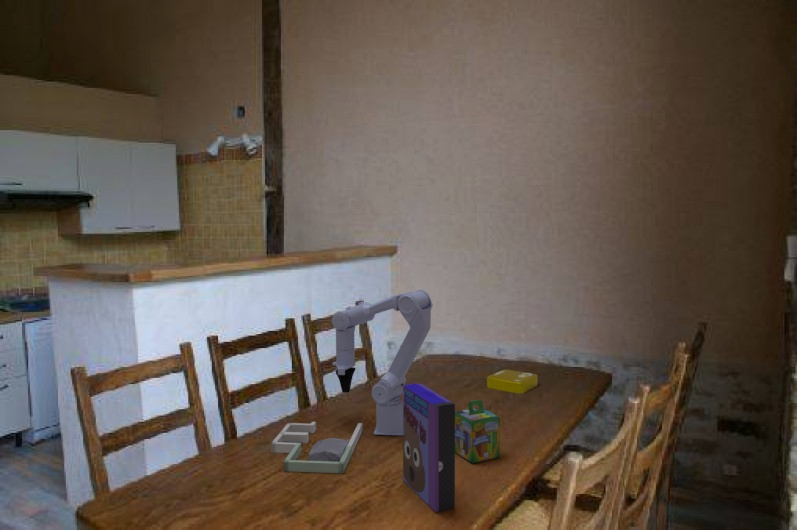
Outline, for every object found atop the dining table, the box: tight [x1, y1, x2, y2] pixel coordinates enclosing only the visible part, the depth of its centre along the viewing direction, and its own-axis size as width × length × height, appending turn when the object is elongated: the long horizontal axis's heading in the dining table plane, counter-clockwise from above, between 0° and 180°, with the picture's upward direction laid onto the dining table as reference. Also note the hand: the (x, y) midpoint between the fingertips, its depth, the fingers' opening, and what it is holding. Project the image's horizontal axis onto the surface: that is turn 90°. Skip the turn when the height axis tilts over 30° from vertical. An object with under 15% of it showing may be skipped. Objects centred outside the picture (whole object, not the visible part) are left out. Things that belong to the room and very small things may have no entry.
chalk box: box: [455, 399, 501, 464], centre depth 163 cm, size 9×9×15 cm
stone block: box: [308, 437, 350, 462], centre depth 163 cm, size 12×5×10 cm
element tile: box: [486, 369, 538, 394], centre depth 228 cm, size 15×15×5 cm
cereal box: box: [402, 383, 456, 514], centre depth 140 cm, size 17×5×24 cm, turn 23°
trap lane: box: [270, 421, 363, 474], centre depth 168 cm, size 22×30×2 cm
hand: (345, 391), depth 188 cm, fingers closed
